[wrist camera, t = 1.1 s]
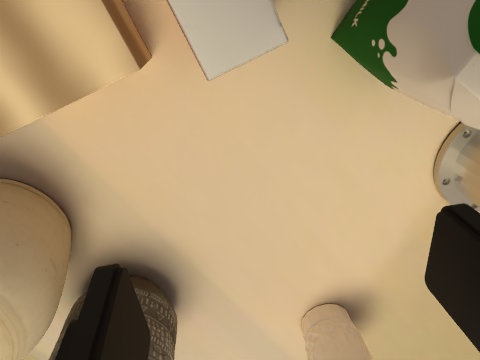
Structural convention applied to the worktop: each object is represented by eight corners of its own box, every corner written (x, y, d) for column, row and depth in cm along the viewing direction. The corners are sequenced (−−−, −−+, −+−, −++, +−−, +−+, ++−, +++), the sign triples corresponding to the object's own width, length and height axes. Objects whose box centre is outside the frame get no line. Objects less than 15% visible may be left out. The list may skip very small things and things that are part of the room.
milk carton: (383, -58, 27) (702, -166, 10) (455, 9, 30) (803, 20, 13) (316, 41, 31) (467, 96, 13) (387, 94, 33) (591, 198, 16)
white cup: (349, 293, 46) (383, 363, 37) (354, 331, 49) (386, 403, 41) (292, 308, 46) (312, 381, 37) (301, 344, 50) (322, 418, 41)
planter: (112, 343, 46) (81, 454, 35) (58, 282, 41) (1, 391, 29) (195, 315, 45) (191, 420, 34) (151, 248, 39) (129, 347, 28)
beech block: (65, -104, 24) (26, -133, 19) (151, 57, 30) (140, 69, 25) (-71, -27, 26) (-143, -34, 20) (35, 114, 31) (0, 137, 26)
